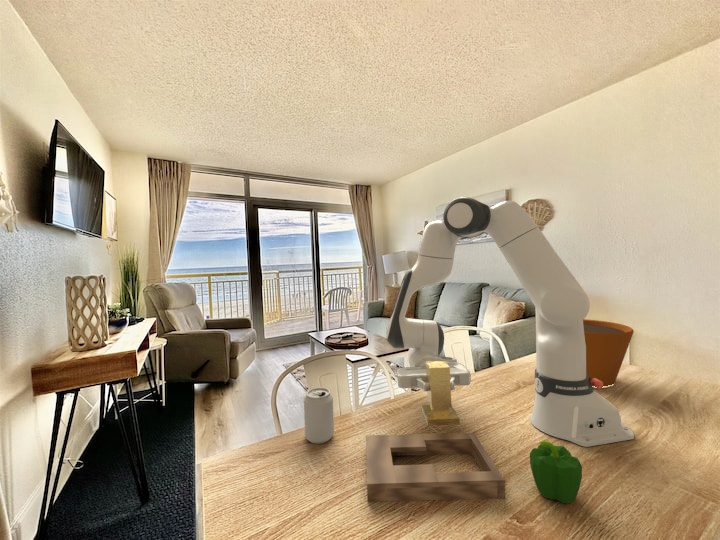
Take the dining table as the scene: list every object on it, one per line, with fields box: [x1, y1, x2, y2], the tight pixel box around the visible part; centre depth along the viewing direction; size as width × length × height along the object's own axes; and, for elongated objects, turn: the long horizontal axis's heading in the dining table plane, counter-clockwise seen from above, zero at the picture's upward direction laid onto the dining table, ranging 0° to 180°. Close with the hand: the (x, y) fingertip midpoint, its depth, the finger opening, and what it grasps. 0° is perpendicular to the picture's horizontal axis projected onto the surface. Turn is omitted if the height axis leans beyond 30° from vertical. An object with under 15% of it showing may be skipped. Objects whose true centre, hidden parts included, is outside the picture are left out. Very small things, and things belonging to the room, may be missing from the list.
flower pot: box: [583, 318, 634, 386], centre depth 111 cm, size 24×24×20 cm
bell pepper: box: [529, 440, 583, 505], centre depth 59 cm, size 8×8×10 cm
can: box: [303, 387, 335, 445], centre depth 80 cm, size 8×8×12 cm
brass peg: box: [420, 361, 461, 427], centre depth 81 cm, size 8×8×14 cm
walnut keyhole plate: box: [365, 432, 506, 503], centre depth 66 cm, size 26×16×4 cm, turn 90°
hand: (439, 387), depth 80 cm, fingers closed on brass peg, 5 cm apart
